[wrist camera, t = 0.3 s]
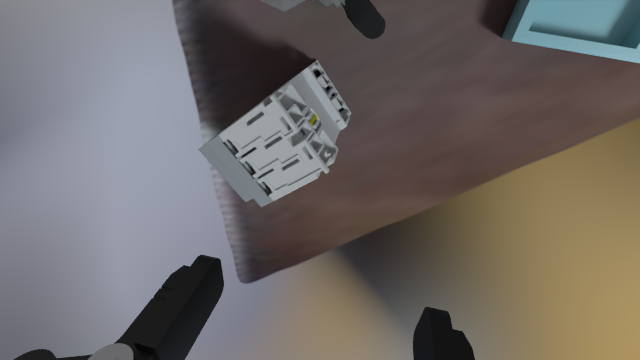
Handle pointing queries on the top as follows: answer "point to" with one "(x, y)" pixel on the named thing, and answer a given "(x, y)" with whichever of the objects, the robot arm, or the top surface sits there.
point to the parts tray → (579, 26)
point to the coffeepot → (355, 8)
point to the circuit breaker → (281, 139)
